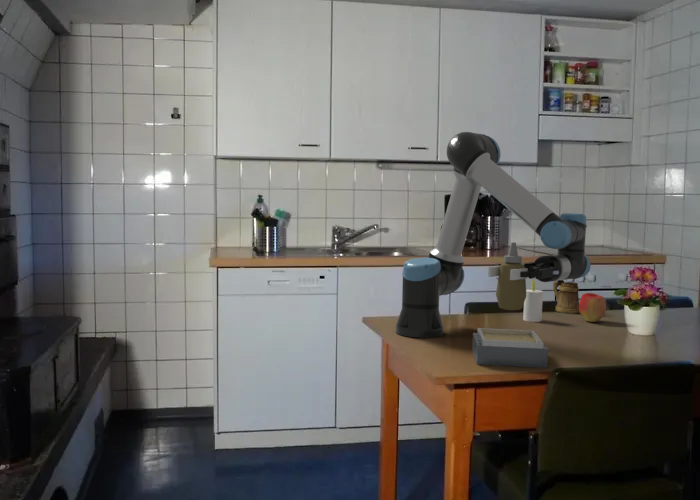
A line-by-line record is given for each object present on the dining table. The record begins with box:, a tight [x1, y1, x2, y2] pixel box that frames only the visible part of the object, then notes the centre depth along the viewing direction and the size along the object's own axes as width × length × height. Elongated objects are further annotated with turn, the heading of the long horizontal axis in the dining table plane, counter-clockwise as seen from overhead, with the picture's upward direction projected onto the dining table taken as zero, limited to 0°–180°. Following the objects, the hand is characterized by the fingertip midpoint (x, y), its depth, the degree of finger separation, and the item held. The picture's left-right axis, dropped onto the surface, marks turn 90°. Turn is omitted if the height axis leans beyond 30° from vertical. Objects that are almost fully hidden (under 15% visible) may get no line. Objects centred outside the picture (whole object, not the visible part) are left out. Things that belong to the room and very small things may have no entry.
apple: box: [579, 292, 607, 323], centre depth 241 cm, size 10×10×10 cm
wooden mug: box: [552, 280, 580, 315], centre depth 261 cm, size 9×14×18 cm, turn 42°
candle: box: [522, 278, 544, 323], centre depth 241 cm, size 6×6×15 cm
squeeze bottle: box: [495, 242, 527, 311], centre depth 184 cm, size 8×8×18 cm
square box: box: [471, 327, 549, 369], centre depth 186 cm, size 18×16×6 cm
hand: (500, 273), depth 181 cm, fingers closed on squeeze bottle, 6 cm apart
